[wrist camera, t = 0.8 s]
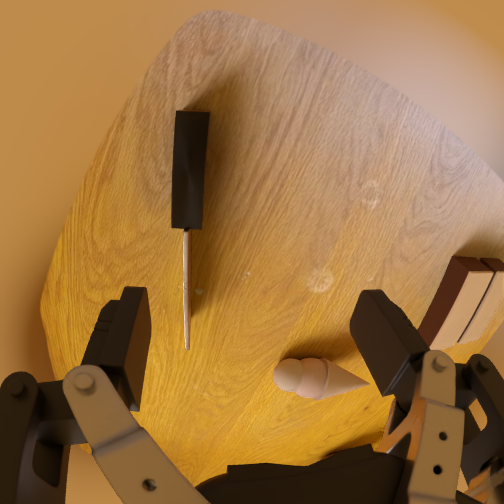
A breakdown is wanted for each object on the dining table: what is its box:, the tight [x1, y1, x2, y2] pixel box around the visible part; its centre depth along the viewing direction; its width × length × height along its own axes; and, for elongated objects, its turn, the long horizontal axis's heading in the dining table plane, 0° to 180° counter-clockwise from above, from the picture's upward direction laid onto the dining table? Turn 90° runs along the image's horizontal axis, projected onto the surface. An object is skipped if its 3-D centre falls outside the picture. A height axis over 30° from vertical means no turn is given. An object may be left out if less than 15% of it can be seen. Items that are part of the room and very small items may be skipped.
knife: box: [171, 110, 211, 350], centre depth 25 cm, size 22×2×5 cm, turn 173°
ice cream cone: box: [273, 358, 370, 400], centre depth 37 cm, size 6×6×15 cm
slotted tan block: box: [417, 256, 504, 350], centre depth 36 cm, size 14×14×4 cm
